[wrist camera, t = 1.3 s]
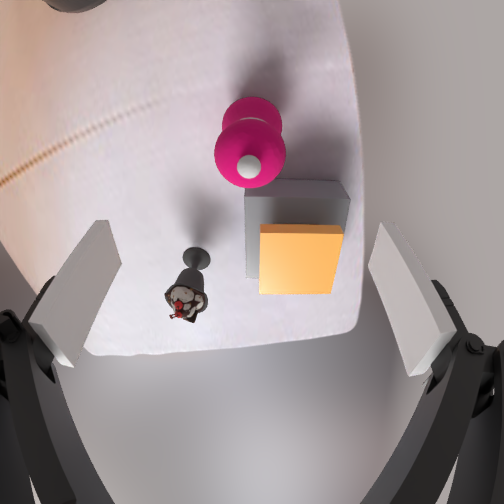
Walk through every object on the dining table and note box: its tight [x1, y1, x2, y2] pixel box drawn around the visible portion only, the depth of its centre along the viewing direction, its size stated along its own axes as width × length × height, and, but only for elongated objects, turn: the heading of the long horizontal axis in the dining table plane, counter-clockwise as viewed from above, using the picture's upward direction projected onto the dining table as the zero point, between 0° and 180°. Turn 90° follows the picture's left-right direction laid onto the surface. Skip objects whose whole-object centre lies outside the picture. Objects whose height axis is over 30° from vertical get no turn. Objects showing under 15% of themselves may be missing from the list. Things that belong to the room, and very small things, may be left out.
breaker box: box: [244, 179, 350, 278], centre depth 43 cm, size 14×14×6 cm
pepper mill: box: [214, 97, 286, 188], centre depth 28 cm, size 7×7×20 cm
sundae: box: [165, 248, 210, 323], centre depth 45 cm, size 7×7×15 cm
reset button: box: [259, 224, 344, 294], centre depth 39 cm, size 10×10×7 cm
